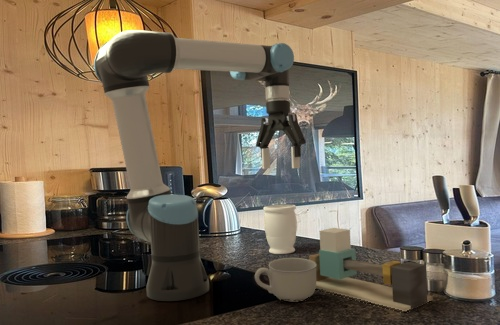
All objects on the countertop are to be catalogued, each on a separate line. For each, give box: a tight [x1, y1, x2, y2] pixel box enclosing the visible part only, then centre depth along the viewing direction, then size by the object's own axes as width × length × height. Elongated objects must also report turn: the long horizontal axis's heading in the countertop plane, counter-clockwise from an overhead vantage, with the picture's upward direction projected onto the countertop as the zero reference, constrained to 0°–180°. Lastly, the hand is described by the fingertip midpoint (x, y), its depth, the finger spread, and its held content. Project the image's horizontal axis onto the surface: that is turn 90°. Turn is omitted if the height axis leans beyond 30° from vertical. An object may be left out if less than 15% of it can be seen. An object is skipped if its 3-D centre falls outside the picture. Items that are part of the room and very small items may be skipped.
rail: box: [308, 252, 434, 311], centre depth 105 cm, size 10×28×8 cm, turn 38°
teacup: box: [254, 257, 317, 301], centre depth 105 cm, size 14×11×8 cm
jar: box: [263, 203, 298, 255], centre depth 153 cm, size 11×10×15 cm
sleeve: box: [318, 227, 358, 280], centre depth 111 cm, size 6×6×10 cm
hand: (280, 168), depth 148 cm, fingers open, 13 cm apart
